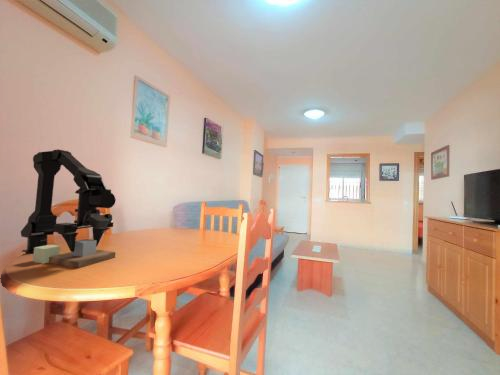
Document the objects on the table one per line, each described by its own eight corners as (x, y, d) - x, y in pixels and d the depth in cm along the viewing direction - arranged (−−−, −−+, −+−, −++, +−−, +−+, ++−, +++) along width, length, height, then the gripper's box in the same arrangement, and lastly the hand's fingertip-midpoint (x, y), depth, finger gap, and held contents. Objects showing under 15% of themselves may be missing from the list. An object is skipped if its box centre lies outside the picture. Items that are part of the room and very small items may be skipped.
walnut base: (49, 262, 79) (49, 256, 79) (87, 253, 93) (88, 248, 93) (78, 268, 75) (79, 262, 75) (115, 257, 89) (115, 252, 89)
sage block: (33, 261, 80) (34, 247, 80) (49, 258, 84) (50, 244, 85) (42, 263, 78) (44, 249, 78) (58, 260, 83) (59, 246, 83)
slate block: (72, 255, 82) (73, 241, 83) (85, 252, 87) (86, 238, 87) (82, 256, 81) (83, 242, 81) (95, 253, 86) (96, 240, 86)
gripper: (78, 209, 73) (74, 258, 73) (125, 206, 91) (122, 246, 91) (53, 207, 77) (50, 253, 76) (103, 205, 94) (101, 243, 94)
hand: (84, 248), depth 84 cm, fingers open, 8 cm apart
